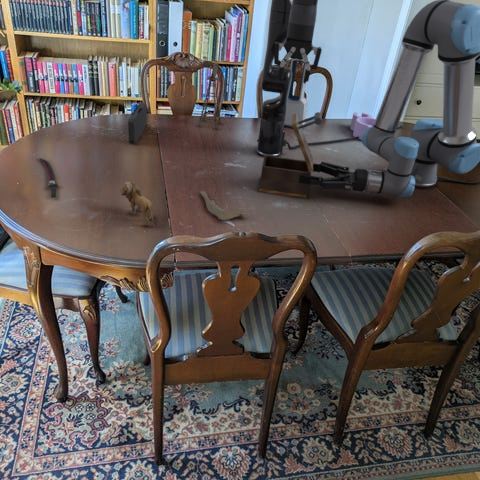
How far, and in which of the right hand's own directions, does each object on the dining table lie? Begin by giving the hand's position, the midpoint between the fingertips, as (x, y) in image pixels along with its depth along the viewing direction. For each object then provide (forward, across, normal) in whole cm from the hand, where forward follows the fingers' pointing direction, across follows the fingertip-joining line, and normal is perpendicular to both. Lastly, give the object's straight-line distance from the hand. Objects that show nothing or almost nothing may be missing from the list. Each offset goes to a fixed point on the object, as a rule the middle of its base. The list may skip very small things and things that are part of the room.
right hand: (299, 171), depth 157 cm
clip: (-30, +68, -7) cm, 74 cm away
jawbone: (+23, -19, -7) cm, 30 cm away
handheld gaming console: (+66, +31, -7) cm, 73 cm away
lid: (+1, 0, +10) cm, 10 cm away
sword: (+81, -16, -7) cm, 83 cm away
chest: (+5, 0, -7) cm, 8 cm away
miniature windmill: (+40, +53, -7) cm, 67 cm away
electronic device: (+4, +67, -7) cm, 67 cm away
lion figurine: (+45, -32, -7) cm, 56 cm away
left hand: (+7, 0, +29) cm, 30 cm away
